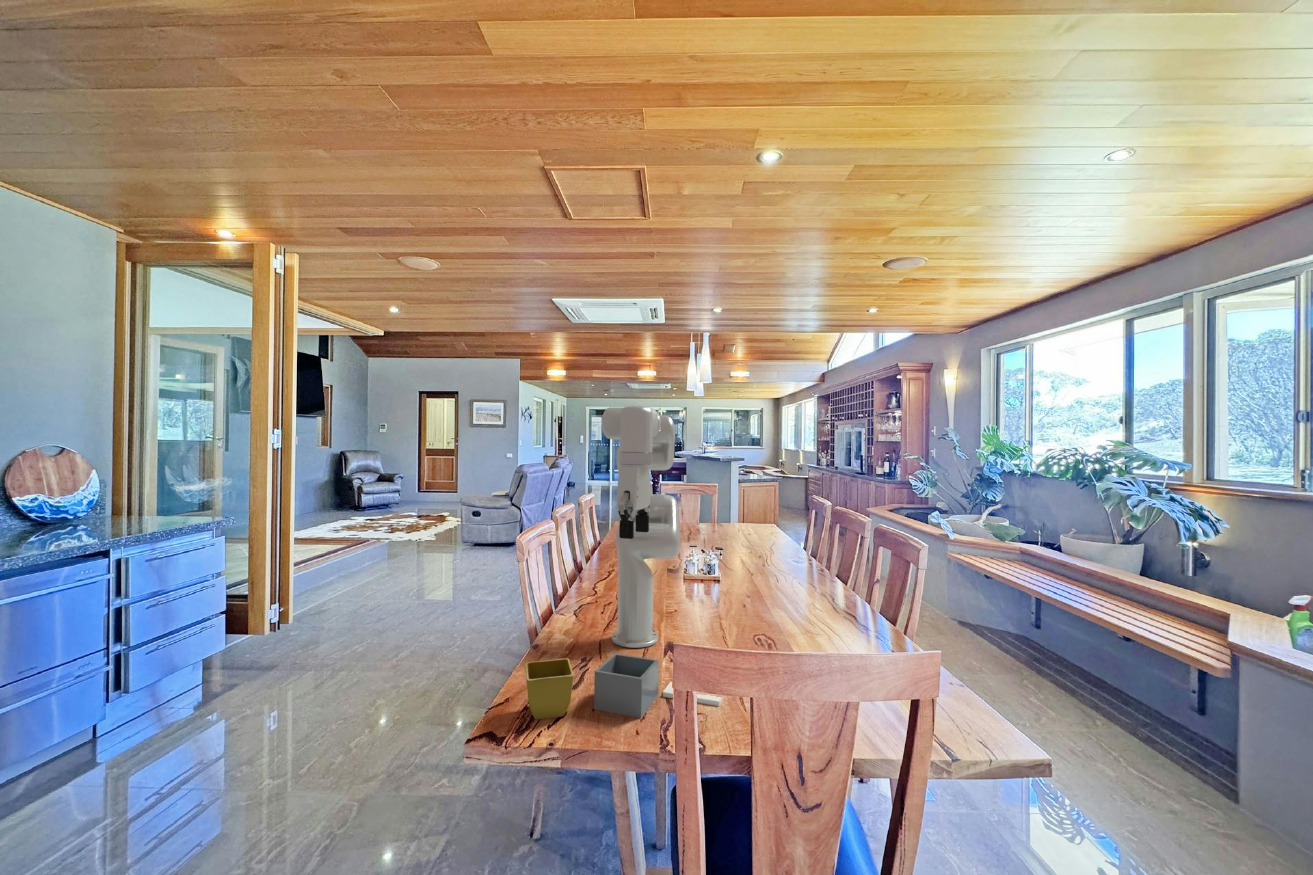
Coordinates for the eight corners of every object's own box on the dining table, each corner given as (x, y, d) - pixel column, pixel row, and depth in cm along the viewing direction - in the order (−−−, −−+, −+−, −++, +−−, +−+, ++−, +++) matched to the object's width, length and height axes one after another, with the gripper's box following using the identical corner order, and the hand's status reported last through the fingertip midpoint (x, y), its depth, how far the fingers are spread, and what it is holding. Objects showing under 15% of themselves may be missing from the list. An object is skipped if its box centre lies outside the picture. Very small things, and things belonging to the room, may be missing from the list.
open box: (614, 690, 118) (614, 653, 118) (658, 698, 115) (658, 660, 115) (593, 711, 109) (594, 671, 109) (641, 720, 105) (641, 679, 105)
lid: (678, 677, 126) (679, 652, 126) (730, 685, 122) (731, 659, 122) (662, 700, 114) (663, 672, 115) (719, 710, 111) (719, 681, 111)
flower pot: (525, 728, 102) (526, 679, 102) (524, 706, 110) (524, 661, 111) (573, 722, 104) (574, 675, 105) (568, 701, 113) (568, 657, 113)
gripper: (634, 459, 135) (633, 528, 135) (605, 460, 119) (603, 539, 119) (663, 459, 133) (662, 530, 133) (637, 461, 116) (636, 542, 116)
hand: (634, 534), depth 126 cm, fingers open, 9 cm apart
